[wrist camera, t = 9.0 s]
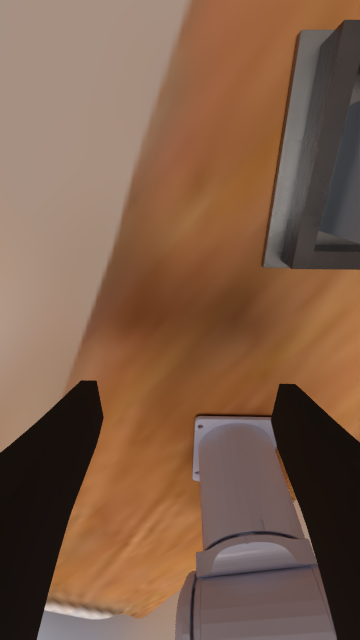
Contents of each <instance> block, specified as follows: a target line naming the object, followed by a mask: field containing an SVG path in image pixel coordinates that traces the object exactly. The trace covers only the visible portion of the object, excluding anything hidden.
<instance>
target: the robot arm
mask: <svg viewBox="0 0 360 640" xmlns="http://www.w3.org/2000/svg"><path fill="white" fill-rule="evenodd" d="M102 422H103V412H102V407H101V402H100V396H99V391H98V386H97V381H82V380H81V381H80V382H79V383H78V384H77V385H76V386H75V387H74V388H73V389H72V390H71V391H69V392H68V393H67V394H66V395H65V396H64V397H63V398H62V399H61V400H60V401H59V402H58V403H57V404H56V405H55V406H54V407H53V408H52V409H51V410H49V411H48V412H47V413H46V414H45V415H44V416H43V417H42V418H41V419H40V420H38V421H37V422H36V423H35V424H34V425H33V426H32V427H31V428H29V429H28V430H27V431H26V432H25V433H24V434H22V435H21V436H20V437H19V438H18V439H17V440H15V441H14V442H13V443H12V444H11V445H10V446H8V447H7V448H6V449H4V450H3V451H2V452H1V453H0V640H37V636H38V631H39V628H40V624H41V620H42V616H43V612H44V608H45V604H46V600H47V596H48V592H49V588H50V585H51V581H52V577H53V574H54V570H55V566H56V562H57V559H58V555H59V552H60V548H61V545H62V541H63V538H64V534H65V531H66V527H67V524H68V520H69V517H70V514H71V511H72V509H73V506H74V503H75V500H76V498H77V495H78V492H79V490H80V487H81V485H82V482H83V479H84V477H85V474H86V471H87V469H88V466H89V464H90V461H91V458H92V456H93V453H94V450H95V448H96V445H97V442H98V438H99V434H100V430H101V426H102ZM276 447H277V448H278V450H279V453H280V456H281V459H282V461H283V464H284V467H285V469H286V472H287V474H288V477H289V480H290V482H291V485H292V487H293V490H294V493H295V495H296V498H297V501H298V503H299V506H300V508H301V511H302V514H303V517H304V520H305V523H306V526H307V529H308V532H309V536H310V539H311V543H312V546H313V550H314V553H315V556H314V553H313V550H312V547H311V545H310V541H309V540H308V539H305V537H304V534H303V531H302V528H301V525H300V522H299V519H298V516H297V513H296V510H295V507H294V504H293V501H292V498H291V496H290V493H289V490H288V487H287V484H286V481H285V478H284V475H283V472H282V469H281V466H280V463H279V460H278V457H277V455H276V452H275V451H276ZM192 476H193V480H195V481H200V496H201V517H202V537H203V551H202V552H197V553H196V571H192V572H190V573H189V574H188V576H187V577H186V580H185V583H184V585H183V587H182V589H181V591H180V595H179V599H178V606H177V613H176V630H175V631H176V632H175V640H360V442H359V441H357V440H356V439H355V438H354V437H353V436H352V435H350V434H349V433H348V432H347V431H346V430H345V429H344V428H342V427H341V426H340V425H339V424H338V423H337V422H336V421H335V420H333V419H332V418H331V417H330V416H329V415H328V414H327V413H326V412H325V411H324V410H323V409H322V408H320V407H319V406H318V405H317V404H316V403H315V402H314V401H313V400H312V399H311V398H310V397H309V396H308V395H307V394H306V393H305V392H303V391H302V390H301V389H300V388H299V387H298V386H297V385H296V384H279V388H278V392H277V397H276V401H275V405H274V409H273V413H272V417H229V416H198V417H196V418H195V431H194V453H193V475H192ZM315 557H316V558H315ZM316 560H317V561H316ZM317 564H318V565H317Z"/></svg>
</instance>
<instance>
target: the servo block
mask: <svg viewBox="0 0 360 640" xmlns="http://www.w3.org/2000/svg"><path fill="white" fill-rule="evenodd" d="M319 231H322V232H325V233H328V234H331V235H334V236H337V237H340V238H343V239H346V240H350V241H353V242H356V243H359V244H360V100H359V101H357V102H355V103H353V104H351V105H350V108H349V112H348V116H347V120H346V124H345V128H344V132H343V135H342V139H341V143H340V147H339V151H338V155H337V159H336V163H335V167H334V171H333V175H332V179H331V183H330V187H329V191H328V195H327V199H326V203H325V207H324V211H323V215H322V219H321V223H320V227H319Z"/></svg>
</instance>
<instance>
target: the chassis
mask: <svg viewBox="0 0 360 640" xmlns="http://www.w3.org/2000/svg"><path fill="white" fill-rule="evenodd" d="M359 100H360V20H344V21H343V22H342V23H341V24H340V25H339V26H338V27H337V28H336V30H301V31H300V33H299V34H298V35H297V39H296V46H295V52H294V59H293V65H292V72H291V78H290V84H289V91H288V97H287V104H286V110H285V117H284V123H283V130H282V136H281V143H280V149H279V155H278V162H277V168H276V175H275V181H274V188H273V194H272V201H271V207H270V214H269V220H268V226H267V233H266V239H265V246H264V252H263V259H262V267H263V268H291V269H357V270H360V244H359V243H356V242H353V241H350V240H346V239H343V238H340V237H337V236H334V235H331V234H328V233H325V232H322V231H319V227H320V223H321V219H322V215H323V211H324V207H325V203H326V199H327V195H328V191H329V187H330V183H331V179H332V175H333V171H334V167H335V163H336V159H337V155H338V151H339V147H340V143H341V139H342V135H343V132H344V128H345V124H346V120H347V116H348V112H349V108H350V105H351V104H353V103H355V102H357V101H359Z"/></svg>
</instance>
